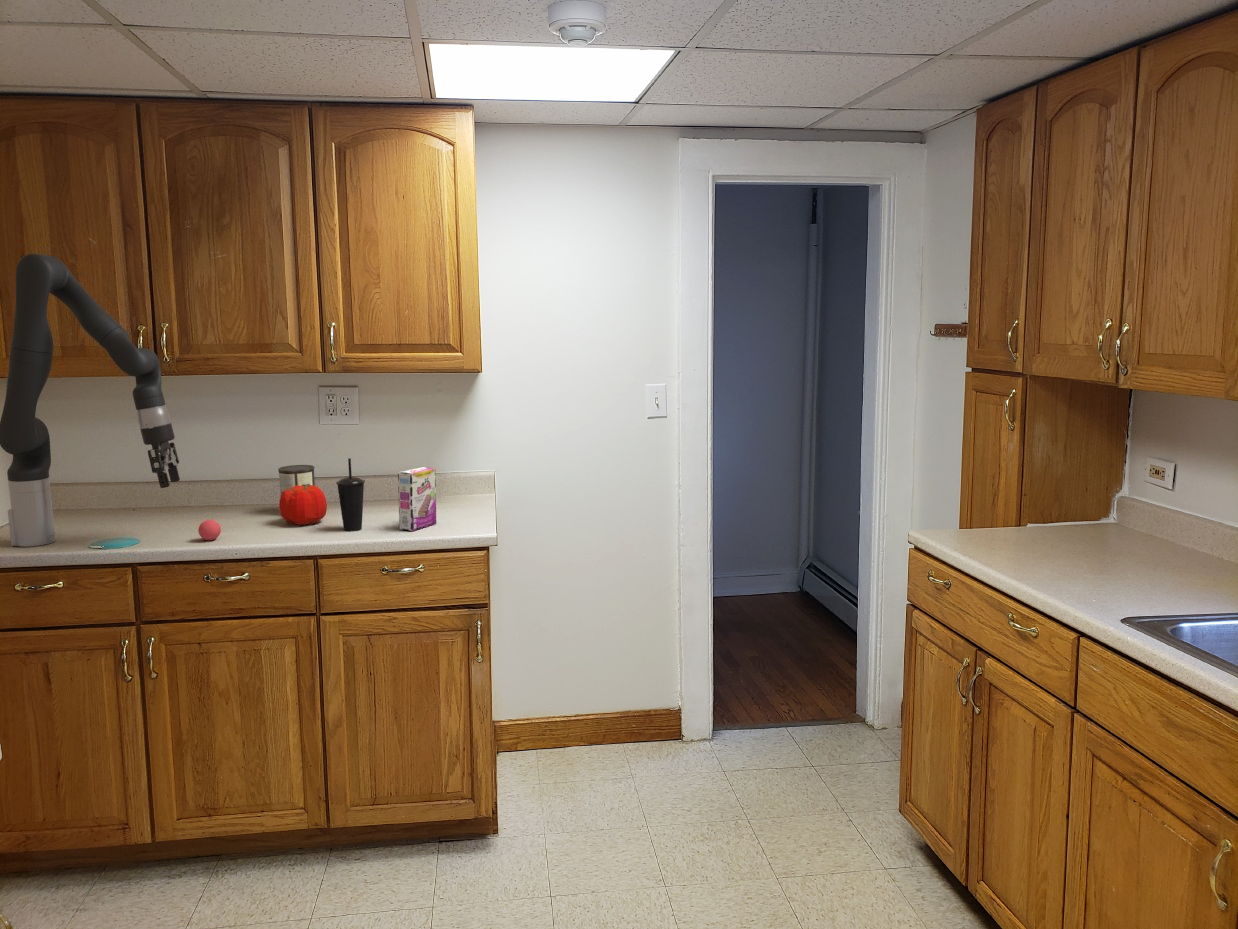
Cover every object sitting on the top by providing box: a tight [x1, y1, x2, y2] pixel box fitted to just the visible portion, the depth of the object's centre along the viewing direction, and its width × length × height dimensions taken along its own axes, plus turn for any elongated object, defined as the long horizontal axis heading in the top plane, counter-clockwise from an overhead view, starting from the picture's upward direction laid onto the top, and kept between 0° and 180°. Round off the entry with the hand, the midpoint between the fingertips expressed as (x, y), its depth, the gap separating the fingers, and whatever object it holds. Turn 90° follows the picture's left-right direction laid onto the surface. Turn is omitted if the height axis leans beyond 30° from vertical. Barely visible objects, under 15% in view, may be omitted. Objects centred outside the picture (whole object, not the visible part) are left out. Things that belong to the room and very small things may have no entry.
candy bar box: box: [397, 466, 437, 532], centre depth 266 cm, size 11×5×16 cm, turn 154°
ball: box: [197, 519, 222, 541], centre depth 252 cm, size 6×6×6 cm
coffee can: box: [278, 464, 316, 496], centre depth 285 cm, size 10×10×14 cm
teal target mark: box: [88, 537, 141, 550], centre depth 249 cm, size 12×12×1 cm
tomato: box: [278, 485, 328, 526], centre depth 272 cm, size 14×13×10 cm
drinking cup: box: [335, 457, 366, 532], centre depth 263 cm, size 8×8×20 cm
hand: (170, 484), depth 251 cm, fingers open, 8 cm apart
